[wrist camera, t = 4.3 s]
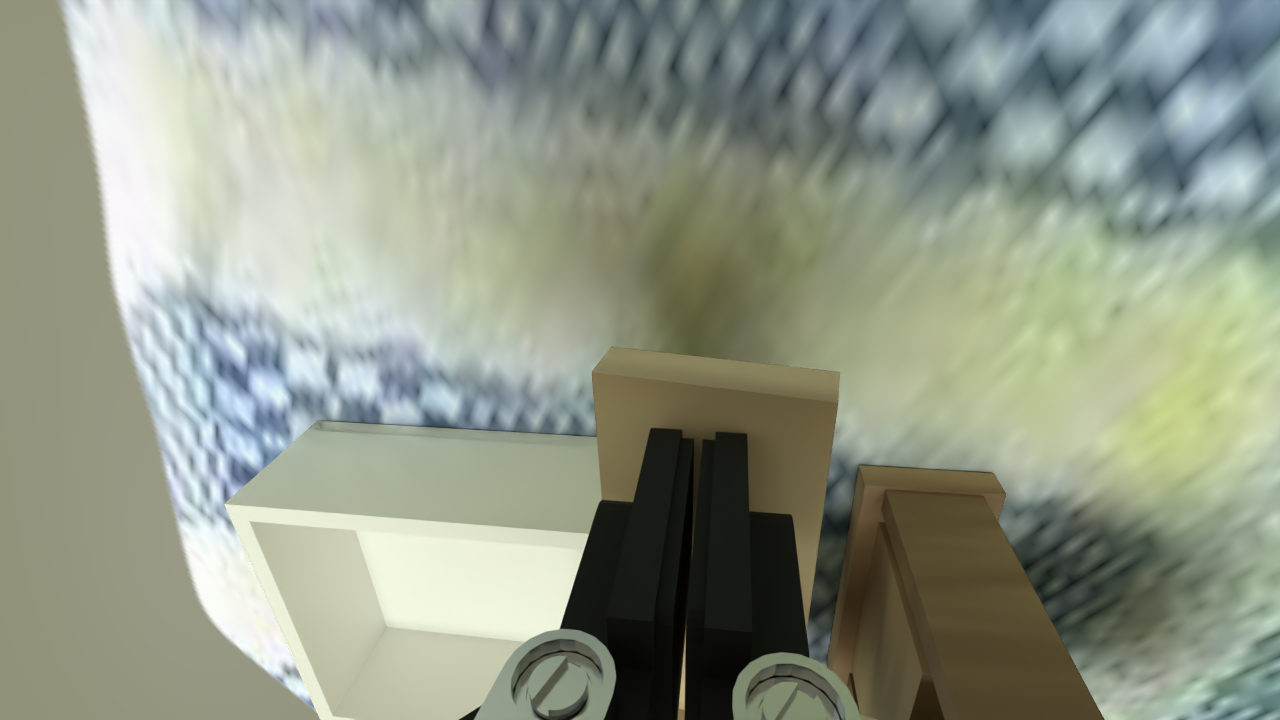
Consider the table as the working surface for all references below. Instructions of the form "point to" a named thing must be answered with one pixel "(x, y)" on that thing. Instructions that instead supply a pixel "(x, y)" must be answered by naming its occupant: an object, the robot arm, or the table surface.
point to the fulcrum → (944, 608)
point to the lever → (723, 402)
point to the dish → (415, 558)
